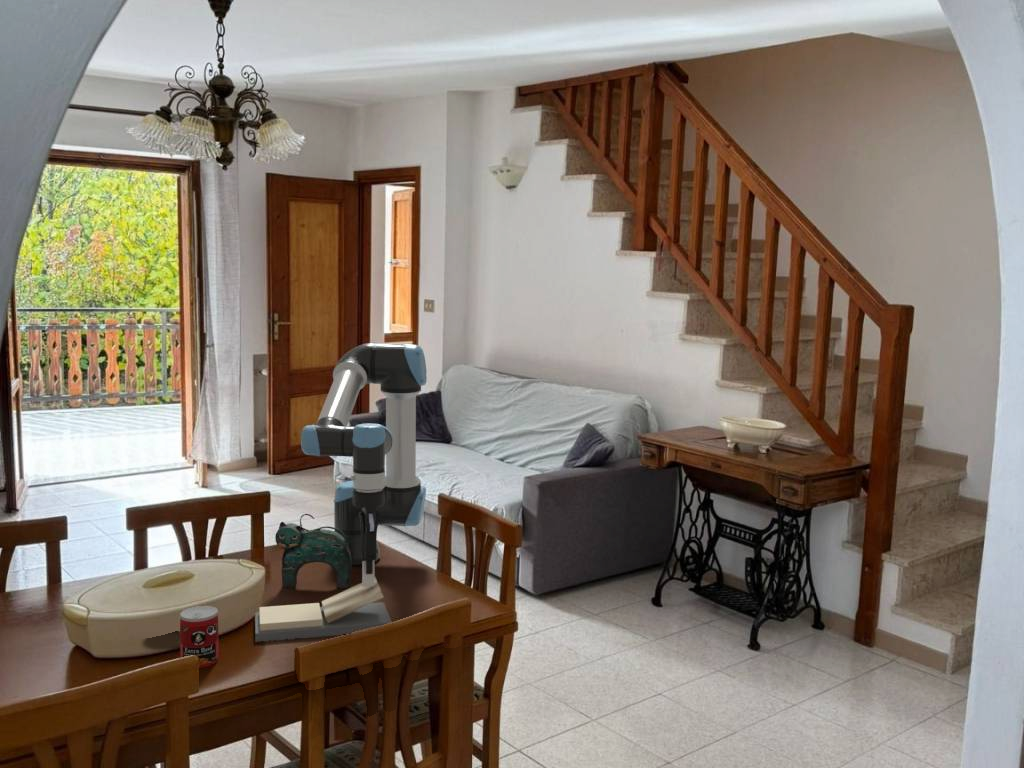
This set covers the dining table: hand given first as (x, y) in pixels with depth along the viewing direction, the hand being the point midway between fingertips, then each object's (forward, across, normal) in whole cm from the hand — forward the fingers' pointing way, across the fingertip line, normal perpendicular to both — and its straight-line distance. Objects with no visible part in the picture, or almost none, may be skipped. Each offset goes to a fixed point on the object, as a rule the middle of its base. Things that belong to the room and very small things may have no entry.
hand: (368, 585), depth 214 cm
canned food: (+10, +14, -38) cm, 41 cm away
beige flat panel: (+4, -1, -3) cm, 5 cm away
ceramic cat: (+9, -30, -11) cm, 33 cm away
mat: (+9, -1, -11) cm, 14 cm away
